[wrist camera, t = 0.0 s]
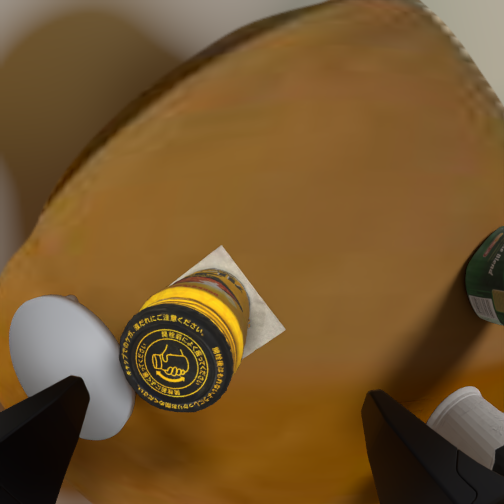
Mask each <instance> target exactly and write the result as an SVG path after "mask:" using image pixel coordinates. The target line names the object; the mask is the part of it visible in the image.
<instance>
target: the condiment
mask: <svg viewBox="0 0 504 504" xmlns="http://www.w3.org/2000/svg"><path fill="white" fill-rule="evenodd" d="M249 319H250V322H248V321H249ZM248 324H250V328H248ZM285 330H286V329H285V328H284V327H283V325H282V324H281V323H280V322H279V320H278V319H277V318H276V316H275V315H274V314H273V313H272V311H271V310H270V309H269V308H268V306H267V305H266V303H265V302H264V301H263V300H262V298H261V297H260V296H259V294H258V293H257V292H256V290H255V289H254V288H253V286H252V285H251V284H250V282H249V281H248V280H247V278H246V277H245V276H244V274H243V273H242V272H241V270H240V269H239V268H238V266H237V265H236V264H235V262H234V261H233V260H232V259H231V257H230V256H229V254H228V253H227V252H226V251H225V249H224V248H223V247H222V245H221V246H220V247H219V248H217V249H216V250H215V251H213V252H212V253H211V254H209V255H208V256H207V257H205V258H204V259H203V260H202V261H200V262H199V263H198V264H196V265H195V266H194V267H193V268H191V269H190V270H189V271H187V272H186V273H185V274H184V275H182V276H181V277H180V278H178V279H177V280H176V281H175V282H173V283H172V284H171V285H169V286H167V287H166V288H164V289H163V290H161V291H159V292H158V293H156V294H155V295H153V296H151V297H150V298H149V299H148V300H147V301H146V302H145V303H144V305H143V306H142V307H141V309H140V310H139V312H138V313H137V314H136V315H134V316H133V318H132V319H131V320H130V321H129V322H128V324H127V326H126V327H125V330H124V332H123V333H122V335H121V339H120V347H119V361H120V364H121V367H122V370H123V372H124V375H125V378H126V380H127V381H128V383H129V385H130V386H131V387H132V388H133V389H134V390H135V391H136V393H137V394H138V395H139V396H140V397H141V398H142V399H144V400H145V401H147V402H148V403H149V404H151V405H153V406H155V407H157V408H159V409H164V410H168V411H174V412H196V411H199V410H202V409H205V408H207V407H208V406H210V405H212V404H214V403H215V402H216V401H218V400H219V399H220V398H221V396H222V395H223V394H224V393H225V391H226V390H227V387H228V385H229V383H230V381H231V377H232V376H233V375H234V374H235V372H236V371H237V369H238V368H239V366H240V363H241V360H242V359H243V358H244V357H246V356H248V355H249V354H251V353H252V352H254V351H255V350H256V349H258V348H260V347H261V346H263V345H264V344H266V343H267V342H268V341H270V340H271V339H273V338H274V337H276V336H277V335H279V334H280V333H282V332H283V331H285Z"/></svg>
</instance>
